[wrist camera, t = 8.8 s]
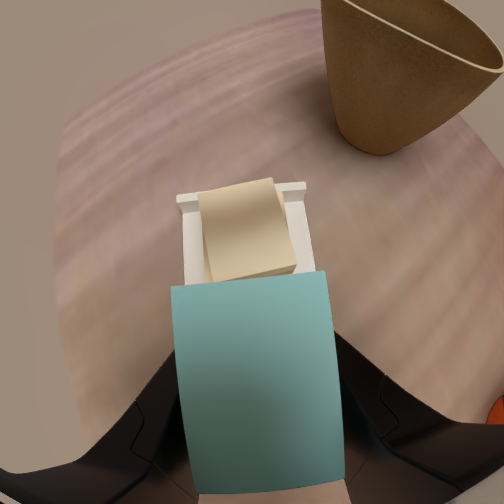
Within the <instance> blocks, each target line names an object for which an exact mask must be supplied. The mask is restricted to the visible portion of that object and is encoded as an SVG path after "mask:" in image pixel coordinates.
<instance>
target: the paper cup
mask: <svg viewBox="0 0 504 504" xmlns="http://www.w3.org/2000/svg"><path fill="white" fill-rule="evenodd" d="M486 424H504V395H503V396H502V397H501V398H499V399H498V400H497V402H496V403H495V404H494V406H493V407H492V409H491V411H490V413H489V416H488V419H487V422H486Z"/></svg>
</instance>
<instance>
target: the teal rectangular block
mask: <svg viewBox="0 0 504 504" xmlns="http://www.w3.org/2000/svg"><path fill="white" fill-rule="evenodd" d="M171 305H172V321H173V335H174V347H175V358H176V368H177V377H178V386H179V395H180V402H181V410H182V417H183V424H184V430H185V437H186V443H187V449H188V454H189V460H190V465H191V470H192V476H193V480H194V485H195V490H196V494H238V493H256V492H268V491H277V490H286V489H293V488H300V487H306V486H312V485H317V484H322V483H327V482H332V481H336V480H341V479H345V462H344V438H343V421H342V407H341V395H340V384H339V373H338V364H337V354H336V346H335V338H334V330H333V322H332V315H331V308H330V301H329V294H328V287H327V281H326V275H325V270H322V271H313V272H305V273H296V274H288V275H279V276H270V277H261V278H252V279H242V280H232V281H222V282H212V283H202V284H191V285H180V286H171Z"/></svg>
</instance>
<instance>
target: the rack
mask: <svg viewBox="0 0 504 504" xmlns="http://www.w3.org/2000/svg"><path fill="white" fill-rule="evenodd" d="M274 185H275V189H276V192H281V191H282V194H283V200H284V206H285V212H286V218H287V224H288V231H289V236H290V239H291V243H292V246H293V250H294V253H295V257H296V261H297V266H296V268H295V270H294V271H295V274H296V273H305V272H313V271H316V270H315V264H314V258H313V252H312V246H311V240H310V235H309V229H308V223H307V218H306V213H305V207H304V202H303V200H304V197H305V194H306V190H307V188H306V183H305V182H292V183H279V184H274ZM203 192H205V191H203ZM197 193H201V192H195V193H188V194H180V195H177V204H178V206H179V208H180V210H181V212H182V213H183V251H184V275H185V285H191V284H202V283H205V272H204V255H203V237H202V220H201V214H200V209H199V203H198V197H197Z"/></svg>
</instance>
